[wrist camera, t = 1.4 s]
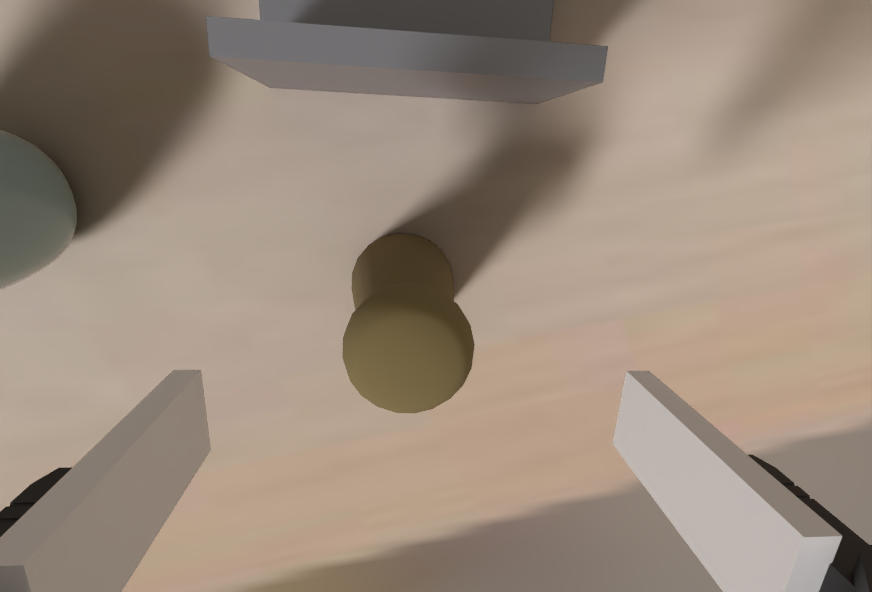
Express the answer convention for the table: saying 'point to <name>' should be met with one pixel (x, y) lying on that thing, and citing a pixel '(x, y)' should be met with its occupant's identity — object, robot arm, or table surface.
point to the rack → (408, 49)
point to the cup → (31, 210)
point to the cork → (406, 326)
